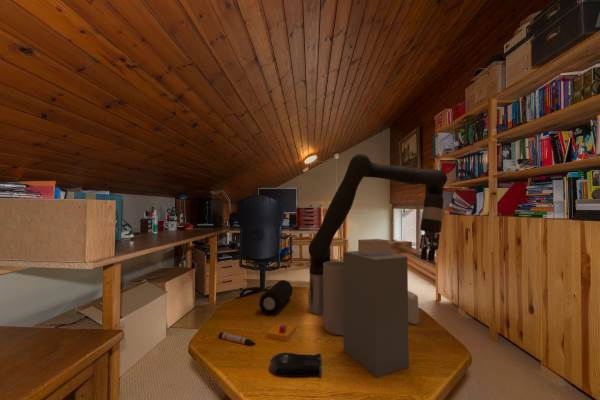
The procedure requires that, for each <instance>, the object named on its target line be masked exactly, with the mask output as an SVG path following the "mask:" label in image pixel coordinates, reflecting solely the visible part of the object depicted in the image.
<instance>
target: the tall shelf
mask: <svg viewBox="0 0 600 400" xmlns="http://www.w3.org/2000/svg"><path fill="white" fill-rule="evenodd" d="M342 254H343V257H342V258H343V260H342V261H343V335H342V336H343V338H342V339H343V340H342V341H343V342H342V343H343V351H344V352H345V353H347V354H348V355H349V356H350V357H351V358H353V360H355V361H356V362H357V363H358V364H360V365H361V366H362V367H363V368H364V369H366V370H367V371H368V372H369V373H370V374H372V375H373V376H374V377H375V378H380V377H382V376H386V375H389V374H392V373H394V372H399V371H403V370H405V369H408V368H410V366H409V365H410V360H409V359H410V354H409V353H410V351H409V345H410V344H409V343H410V342H409V323H408V291H409V289H408V288H409V285H408V282H409V281H408V274H409V272H408V267H409V266H408V256H404V255H401V254H400V255H399V254H389V255H379V256H365V255H361V254H358V250H355V251H353V250H352V251H343V252H342Z"/></svg>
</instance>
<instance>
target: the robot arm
mask: <svg viewBox="0 0 600 400" xmlns="http://www.w3.org/2000/svg"><path fill="white" fill-rule="evenodd" d="M363 178H376V179H383V180H384V179H385V180H389V181H394V182H399V183H401V184H408V185H412V186H418V185H425V186H424V187H425V188H424V189H425V192H424V193H425V194H424V195H425V196H424V199H423V208H422V212H421V218H420V219H421V220H420V225H419V227H420V228H419V229H420V231H422V232H424V234H421V235H420V243H419V249H420V251H421V252H420V258H419V259H420V260H422V261H428V262H429V261H430V262H434V261H435V258H436V256H435V255H436V252H437V250H439V245H440V236H441V235H440V233H441V232H442V225H443V216H444V215H443V214H444V212H443V211H444V210H443V208H444V200H445V199H444V196H443V195H444V187H445V185H446V183H447V181H448V176H447V174H446V173H445V172H444V171H442V170H439V169H435V168H434V169H433V168H416V167H411V166H405V165H389V164H381V163H377V162H373V161H371V159H370V158H369V157H368V156H367V154H365V153H357V154H356V155H354V156H352V158H350V161H349V163H348V165H347V169H346V171H345V175H344V177H343V180H342V181H341V183H340V185H339V187H338V188H337V190H336V192H335V193H334V196H333V198H331V201H330V203H329V206H328V208H327V210H326V212H325V214H324V217H323V220H322V222H321V225H320V227H319V229H318V230H317V232H316V234H315V235H314V236H313V239H312V240H311V242H310V243H309V245H308V253H309V255H310V265H309V290H308V292H307V293H308V295H307V296H308V297H307V298H308V300H307V302H308V303H307V304H308V306H307V307H308V308H307V310H308V311H307V312H308V313H311V314H314V315H318V316H319V315H320V316H321V315H322V316H323V263H325V262H329V261H331V245H332V242H333V240H334V237H335V235H336V233H337V232H338V231H339V229H340V228H341V227H342V225H343V223H344V221H345V220H346V218H347V217H348V215H349V213H350V211H351V210H352V206H353V204H354V201H355V198H356V193H357V190H358V187H359V185H360V183H361V182H362V180H363Z"/></svg>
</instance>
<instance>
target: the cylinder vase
mask: <svg viewBox="0 0 600 400" xmlns="http://www.w3.org/2000/svg"><path fill="white" fill-rule="evenodd" d="M322 317H323V319H322V321H323V323H322V325H323V329H324V331H326V332H327V333H328V334H332V335H336V336H343V260H330V261H329V262H325V263H323V315H322Z"/></svg>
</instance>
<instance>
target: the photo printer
mask: <svg viewBox="0 0 600 400" xmlns="http://www.w3.org/2000/svg"><path fill="white" fill-rule="evenodd" d="M419 316H420V315H419V297H418V295H417V294H416V293H414V292H412V291H409V290H408V324H413V325H418V324H419V319H420V318H419Z"/></svg>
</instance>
